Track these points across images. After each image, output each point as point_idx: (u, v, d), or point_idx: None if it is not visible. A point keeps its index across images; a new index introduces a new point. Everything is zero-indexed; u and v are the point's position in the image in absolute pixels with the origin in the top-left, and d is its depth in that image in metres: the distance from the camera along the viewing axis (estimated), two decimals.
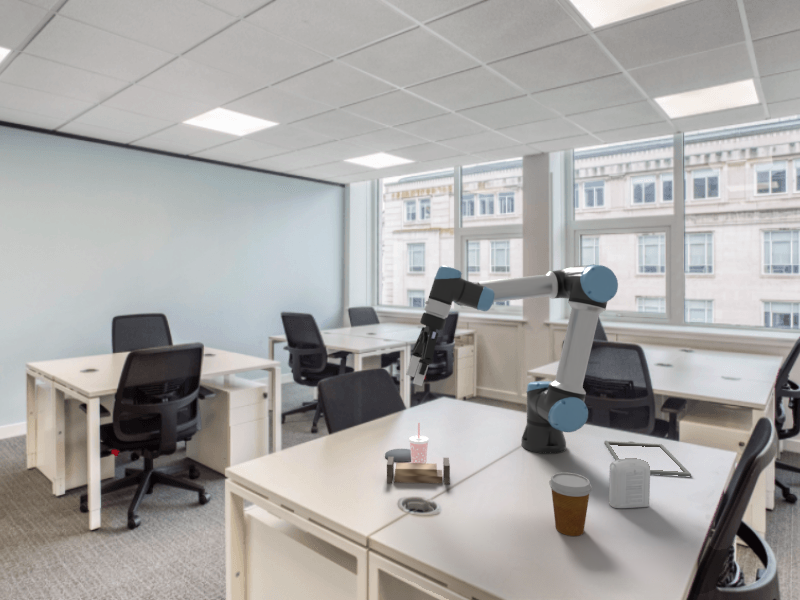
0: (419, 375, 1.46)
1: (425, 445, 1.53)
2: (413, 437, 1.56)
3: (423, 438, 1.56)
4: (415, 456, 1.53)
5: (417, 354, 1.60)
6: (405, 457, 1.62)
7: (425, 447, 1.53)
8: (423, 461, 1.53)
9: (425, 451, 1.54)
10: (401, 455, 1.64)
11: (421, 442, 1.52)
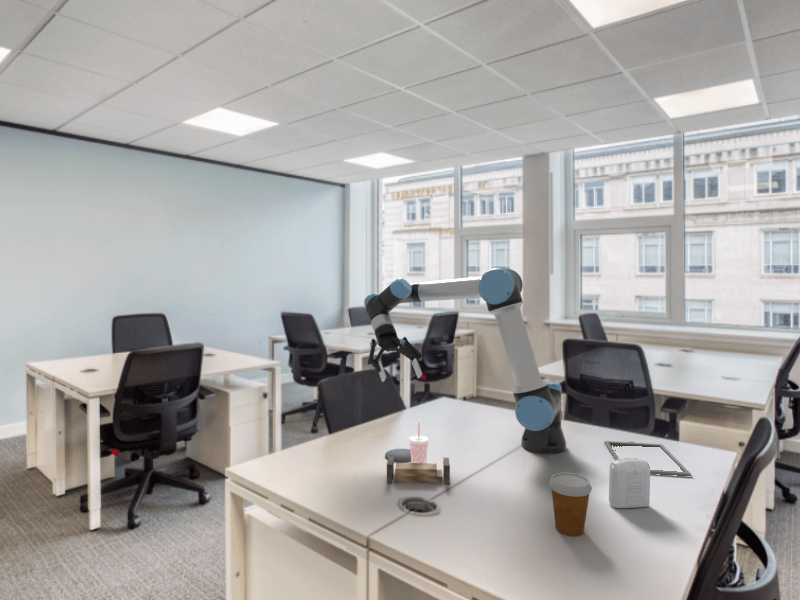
0: (380, 373, 1.66)
1: (425, 445, 1.53)
2: (413, 437, 1.56)
3: (423, 438, 1.56)
4: (415, 456, 1.53)
5: (414, 358, 1.75)
6: (405, 457, 1.62)
7: (425, 447, 1.53)
8: (423, 461, 1.53)
9: (425, 451, 1.54)
10: (401, 455, 1.64)
11: (421, 442, 1.52)
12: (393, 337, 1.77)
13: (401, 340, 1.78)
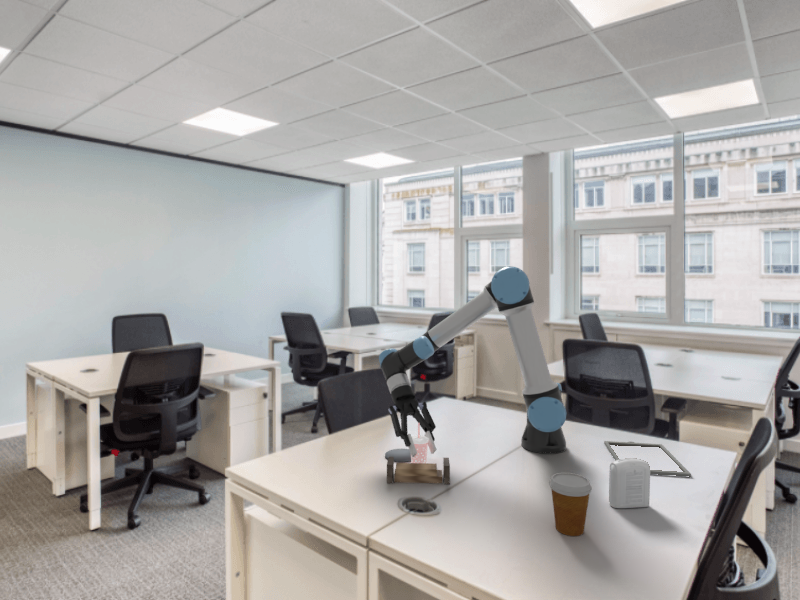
0: (410, 447, 1.52)
1: (425, 445, 1.53)
2: (413, 437, 1.56)
3: (423, 438, 1.56)
4: (415, 456, 1.53)
5: (427, 430, 1.58)
6: (405, 457, 1.62)
7: (425, 447, 1.53)
8: (423, 461, 1.53)
9: (425, 451, 1.54)
10: (401, 455, 1.64)
11: (421, 442, 1.52)
12: (412, 398, 1.64)
13: (420, 404, 1.64)
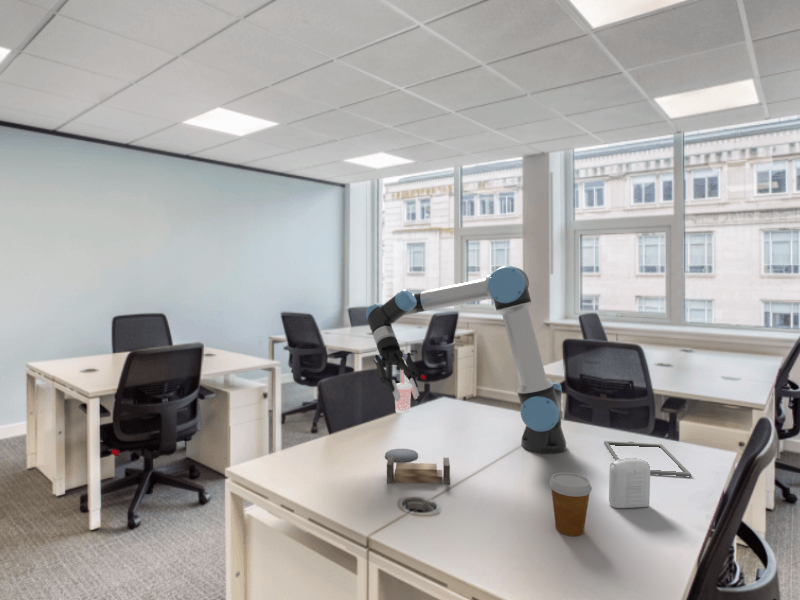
0: (394, 392, 1.60)
1: (408, 390, 1.61)
2: (397, 384, 1.64)
3: (407, 384, 1.63)
4: (398, 401, 1.61)
5: (410, 378, 1.66)
6: (405, 457, 1.62)
7: (408, 392, 1.61)
8: (406, 406, 1.61)
9: (408, 396, 1.62)
10: (401, 455, 1.64)
11: (404, 387, 1.60)
12: (397, 349, 1.72)
13: (404, 355, 1.72)
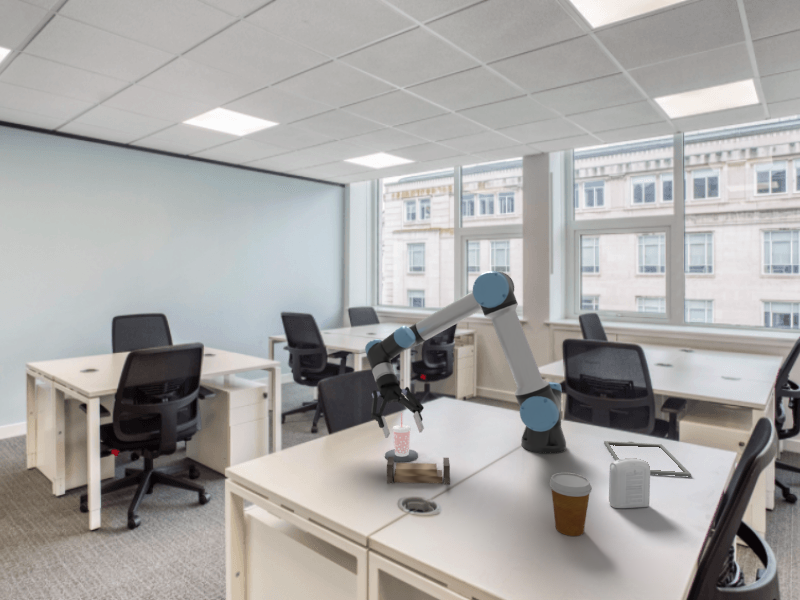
0: (383, 428, 1.61)
1: (407, 433, 1.63)
2: (396, 426, 1.66)
3: (406, 427, 1.65)
4: (397, 444, 1.62)
5: (415, 411, 1.69)
6: (405, 457, 1.62)
7: (407, 435, 1.63)
8: (405, 449, 1.63)
9: (407, 439, 1.63)
10: None
11: (403, 431, 1.62)
12: (395, 387, 1.72)
13: (403, 390, 1.73)
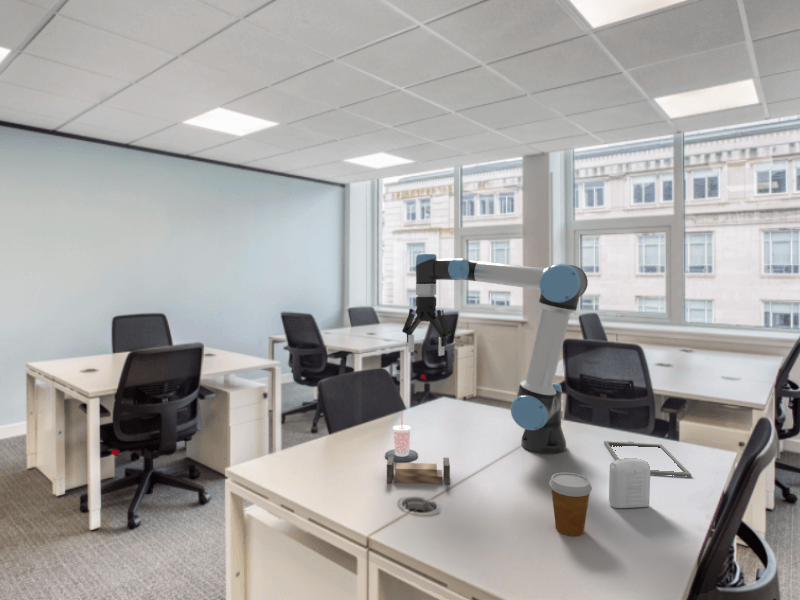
0: None
1: (407, 434, 1.63)
2: (396, 426, 1.66)
3: (406, 427, 1.65)
4: (398, 444, 1.62)
5: None
6: (405, 457, 1.62)
7: (407, 435, 1.63)
8: (406, 449, 1.63)
9: (407, 439, 1.63)
10: None
11: (403, 431, 1.62)
12: (428, 309, 1.79)
13: (436, 312, 1.78)
